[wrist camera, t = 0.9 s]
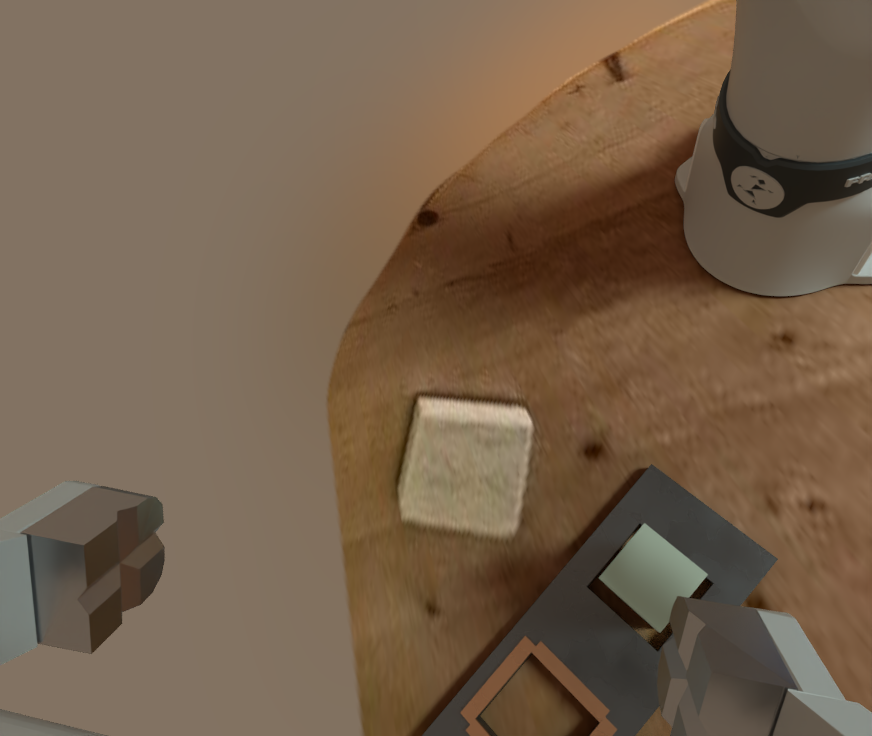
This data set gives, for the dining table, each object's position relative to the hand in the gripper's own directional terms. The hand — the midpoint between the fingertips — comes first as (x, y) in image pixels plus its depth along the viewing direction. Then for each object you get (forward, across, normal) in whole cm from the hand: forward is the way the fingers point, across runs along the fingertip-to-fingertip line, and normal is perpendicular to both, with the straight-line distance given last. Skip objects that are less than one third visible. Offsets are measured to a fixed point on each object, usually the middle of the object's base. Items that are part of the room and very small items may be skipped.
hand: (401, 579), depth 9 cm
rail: (+29, -10, +24) cm, 39 cm away
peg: (+32, -13, +20) cm, 39 cm away
